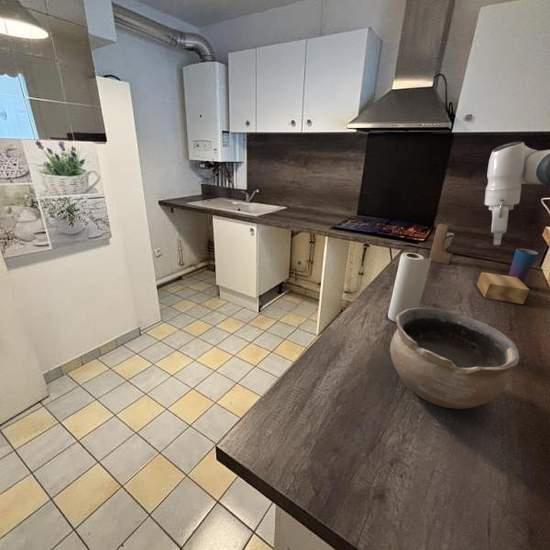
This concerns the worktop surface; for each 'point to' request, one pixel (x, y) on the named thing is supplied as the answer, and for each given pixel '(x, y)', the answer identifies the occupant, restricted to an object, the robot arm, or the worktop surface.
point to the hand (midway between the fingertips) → (497, 241)
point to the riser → (502, 288)
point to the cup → (522, 263)
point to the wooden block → (440, 246)
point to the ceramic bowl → (451, 357)
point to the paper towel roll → (408, 283)
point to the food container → (448, 241)
